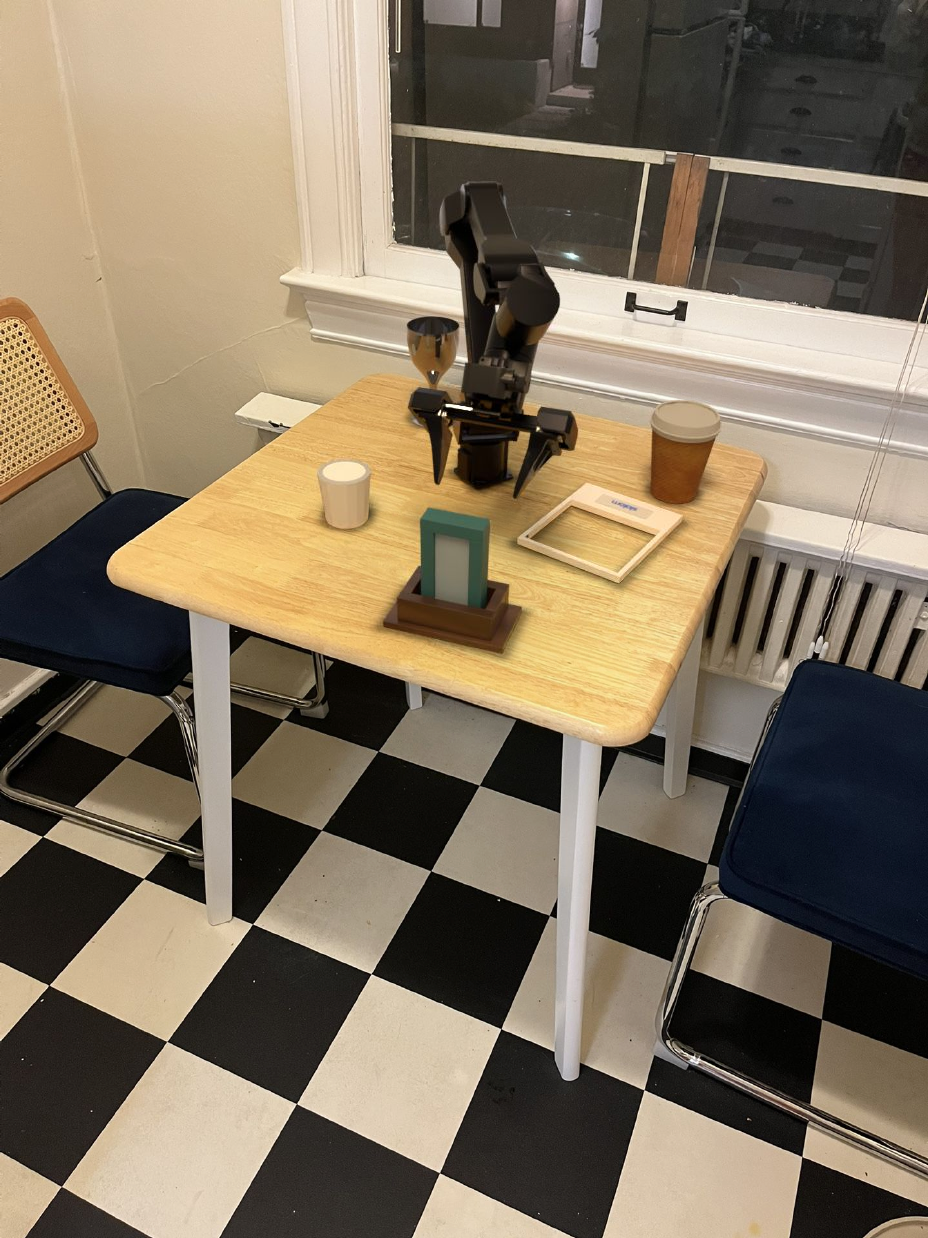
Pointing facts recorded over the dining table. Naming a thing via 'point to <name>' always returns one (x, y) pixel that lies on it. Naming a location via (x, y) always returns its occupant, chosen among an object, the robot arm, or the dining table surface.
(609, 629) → the dining table surface
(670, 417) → the disposable coffee cup
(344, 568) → the dining table surface
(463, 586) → the picture frame
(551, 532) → the dining table surface
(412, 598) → the frame holder
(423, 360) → the wine glass
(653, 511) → the photo frame
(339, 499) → the beige cup
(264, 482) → the dining table surface
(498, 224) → the robot arm
